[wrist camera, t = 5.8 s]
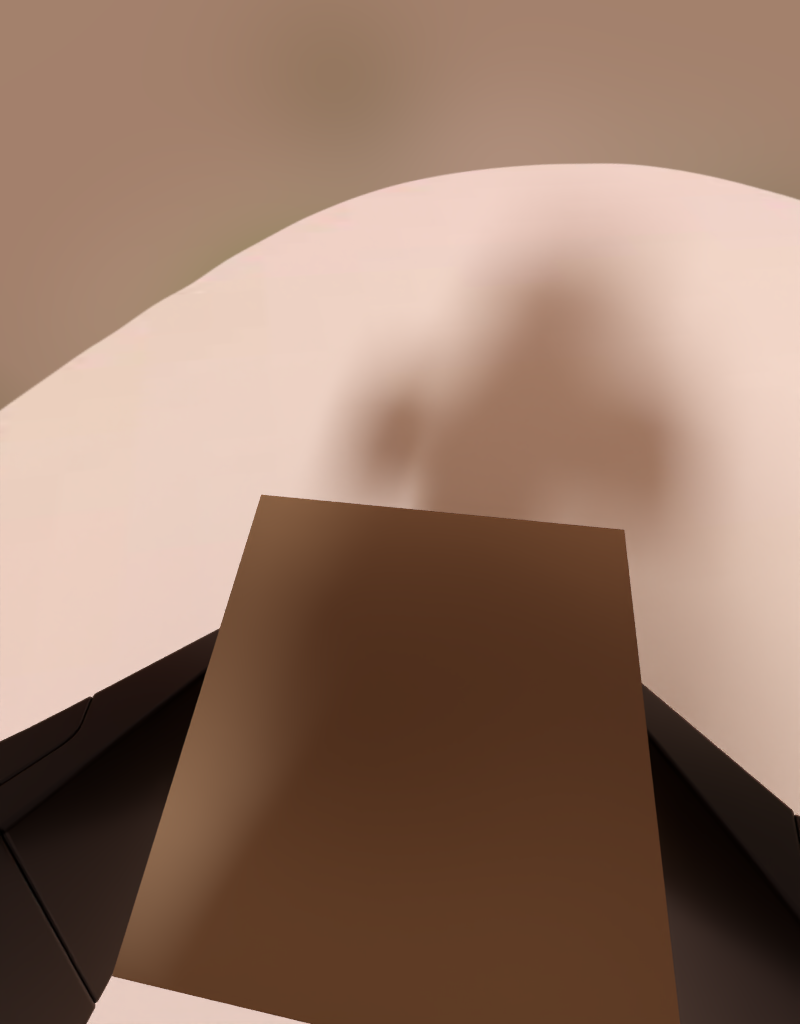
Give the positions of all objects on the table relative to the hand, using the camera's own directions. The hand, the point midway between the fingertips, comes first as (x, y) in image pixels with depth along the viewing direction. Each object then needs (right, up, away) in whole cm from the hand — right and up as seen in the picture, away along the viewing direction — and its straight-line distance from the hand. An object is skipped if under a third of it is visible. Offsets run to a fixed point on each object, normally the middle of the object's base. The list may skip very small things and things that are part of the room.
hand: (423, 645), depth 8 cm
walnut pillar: (0, -5, +7) cm, 9 cm away
